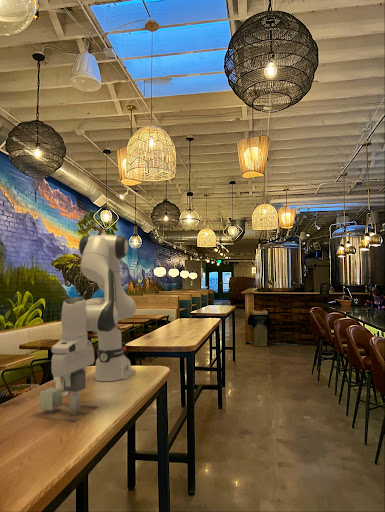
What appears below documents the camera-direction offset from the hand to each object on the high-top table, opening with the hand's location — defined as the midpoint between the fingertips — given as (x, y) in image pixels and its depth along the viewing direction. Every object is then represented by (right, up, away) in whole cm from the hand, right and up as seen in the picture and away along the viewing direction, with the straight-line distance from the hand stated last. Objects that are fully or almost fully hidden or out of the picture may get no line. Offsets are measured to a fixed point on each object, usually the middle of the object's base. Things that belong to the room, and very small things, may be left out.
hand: (74, 383), depth 129 cm
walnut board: (-4, -12, +2) cm, 13 cm away
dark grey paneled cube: (0, -2, 0) cm, 2 cm away
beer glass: (-12, -13, +22) cm, 29 cm away
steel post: (0, -11, -1) cm, 10 cm away
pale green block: (-9, -11, +2) cm, 14 cm away
